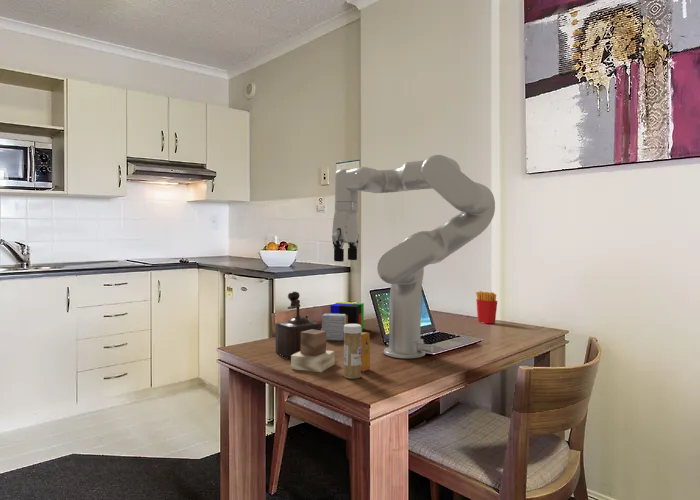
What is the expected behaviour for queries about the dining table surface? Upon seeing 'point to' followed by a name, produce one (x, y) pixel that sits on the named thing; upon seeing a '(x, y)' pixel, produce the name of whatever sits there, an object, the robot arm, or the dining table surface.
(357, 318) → the puzzle toy
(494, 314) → the french fries
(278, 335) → the manual coffee grinder
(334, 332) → the medicine box
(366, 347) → the supplement box
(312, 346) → the walnut block
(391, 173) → the robot arm
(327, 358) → the birch block
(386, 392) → the dining table surface
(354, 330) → the sprinkles bottle
